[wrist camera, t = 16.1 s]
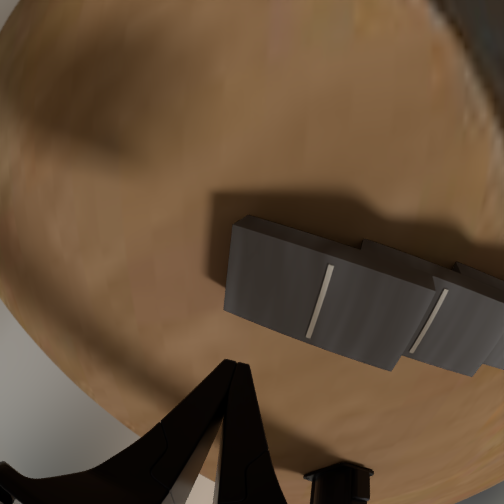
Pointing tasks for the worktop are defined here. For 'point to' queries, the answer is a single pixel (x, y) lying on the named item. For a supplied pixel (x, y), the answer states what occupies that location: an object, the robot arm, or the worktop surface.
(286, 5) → the worktop surface
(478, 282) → the domino
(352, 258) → the domino
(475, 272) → the domino
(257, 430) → the robot arm
